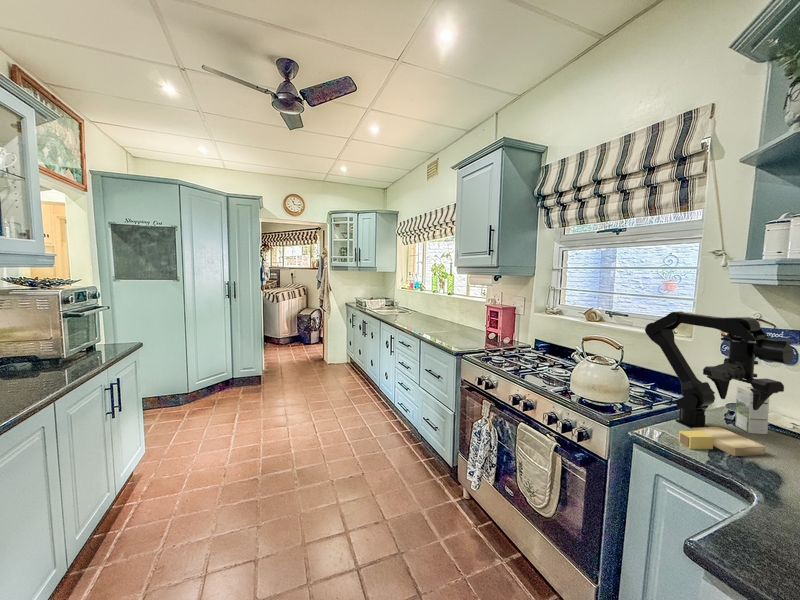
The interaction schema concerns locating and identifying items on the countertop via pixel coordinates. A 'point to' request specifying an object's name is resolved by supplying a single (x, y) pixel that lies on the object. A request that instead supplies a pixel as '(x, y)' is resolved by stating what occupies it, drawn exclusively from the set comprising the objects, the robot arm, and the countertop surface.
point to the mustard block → (696, 439)
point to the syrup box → (750, 412)
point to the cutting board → (732, 442)
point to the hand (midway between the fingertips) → (738, 404)
